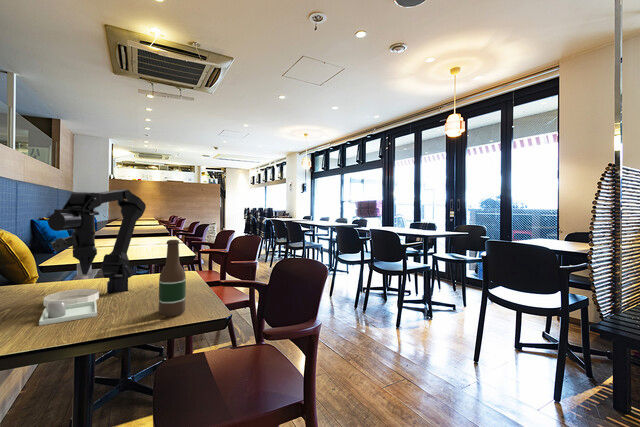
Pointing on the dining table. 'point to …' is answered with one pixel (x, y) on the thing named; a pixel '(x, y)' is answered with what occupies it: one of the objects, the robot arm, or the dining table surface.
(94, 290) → the bowl
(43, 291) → the dining table surface
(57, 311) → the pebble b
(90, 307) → the tray
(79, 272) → the grey rounded cylinder
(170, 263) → the beer bottle
